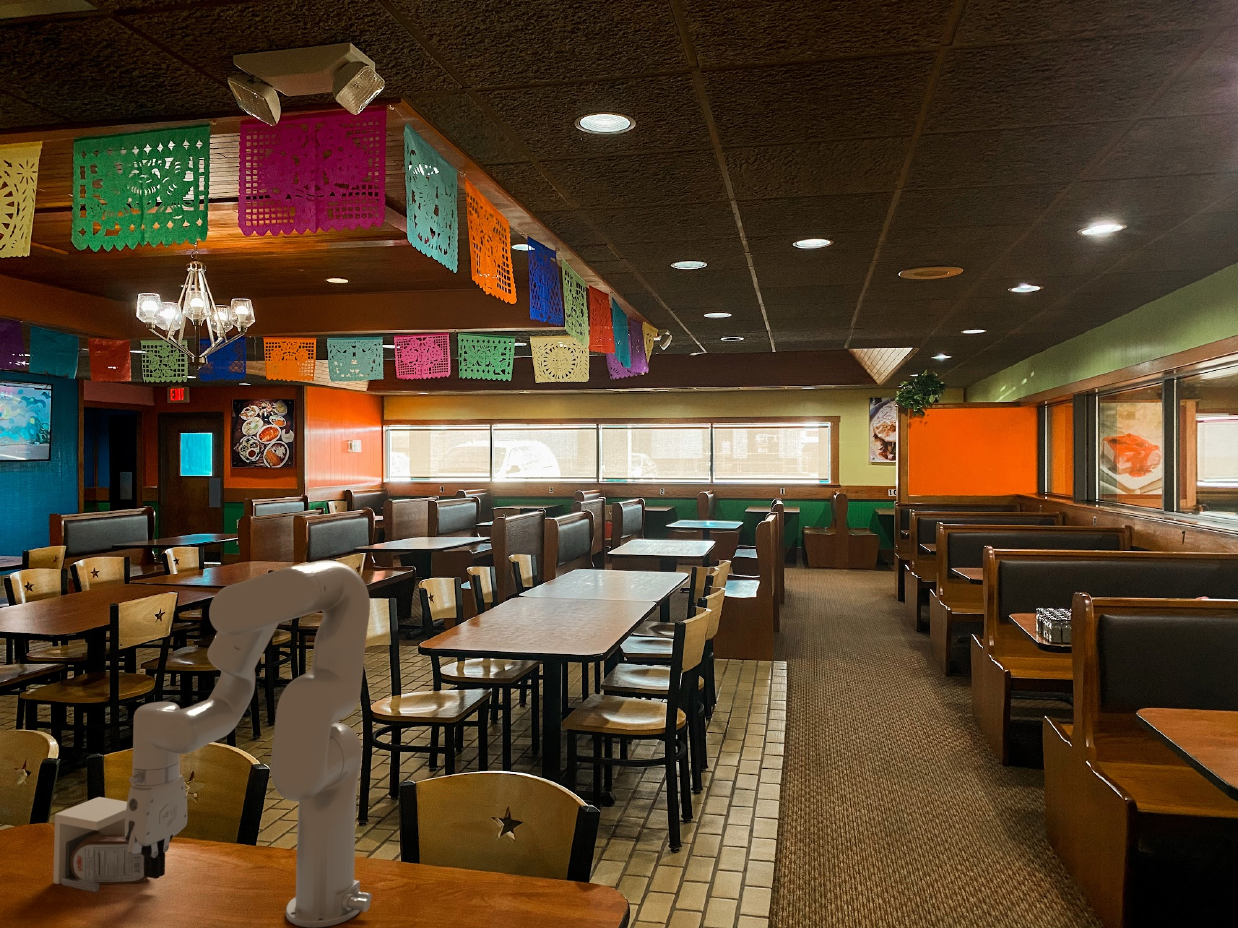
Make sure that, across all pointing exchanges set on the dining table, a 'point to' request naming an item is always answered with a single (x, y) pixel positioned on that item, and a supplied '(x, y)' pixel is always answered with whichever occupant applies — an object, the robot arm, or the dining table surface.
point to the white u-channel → (84, 834)
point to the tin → (107, 861)
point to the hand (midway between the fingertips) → (154, 875)
